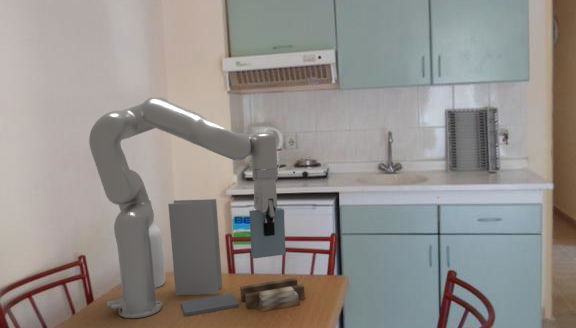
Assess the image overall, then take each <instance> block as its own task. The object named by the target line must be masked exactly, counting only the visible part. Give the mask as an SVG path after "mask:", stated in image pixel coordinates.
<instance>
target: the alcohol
mask: <svg viewBox="0 0 576 328" xmlns="http://www.w3.org/2000/svg"><path fill="white" fill-rule="evenodd" d="M149 200H150V203H151V206H152V203H153V202H152V198H150V197H149ZM152 207H153V206H152ZM149 237H150V243H151V250H152V260H153V271H154V283H155V289H157V288H160V287H162V286H164V285H165V282H166V269H165V258H164V246H163V235H162V231H161V229H160V227H158V225H157V224H156V223H155V218H154V219H153V223H152V225H151V226H150V228H149Z"/></svg>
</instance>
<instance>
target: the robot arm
mask: <svg viewBox="0 0 576 328" xmlns="http://www.w3.org/2000/svg"><path fill="white" fill-rule="evenodd" d="M154 129H158V130H160V131H163V132H166V133H168V134H170V135H172V136H175V137H177V138H180V139H182V140H184V141H187V142H189V143H191V144H192V145H195V146H199V147H201V148H204V149H206V150H208V151H210V152H212V153H214V154H217V155H220V156H221V157H224V158H227V159H230V160H233V161H243V160H245V159H246V158H247V157H250V156H251V170H252V172H251V173H252V180H253V181H254V182H253V206H254V207H253V208H254V209H255V210H257V211H259V212H260V213H262V214H263V213H264V222H265V223H263V225H264V236H271V235H274V234H275V231H274V217H275V214H274V212H276V211H277V208H278V196H277V195H278V194H277V184H276V180H278V174H279V173H278V155H277V154H278V152H277V137H276V134H275V133H273V132H258V133H257V132H256V133H244V132H235V131H232V130H230V129H227V128H225V127H222V126H221V125H218V124H216V123H214V122H212V121H210V120H209V119H207V118H206V117H204V116H203V115H202V114H199V113H197V112H194V111H192V110H190V109H187V108H185V107H182V106H179V105H178V104H175V103H173V102H170V101H168V100H167V99H166V98H163V97H157V96H154V97H149V98H147V99H146V100H145V101H144V102H143V103H140V104H138V105H135V106H134V105H133V106H131V107H129V108H126V109H125V108H124V109H123V110H112V111H109V112H107V113H105V114H103V115H102V116H101V117H99V118H98V119H97V121H95V123H94V124H93V126H92V127H91V129H90V131H89V132H90V133H89V140H88V142H89V147H90V151H91V155H92V158H93V161H94V164H95V166H96V171H97V173H98V175H99V179H100V182H101V185H102V187H103V190H104V191H103V192H104V194H105V196H106V198H107V199H108V201H109V202H111V203H112V204H114V205H118V207H119V211H120V212H119V213H118V214H117V216H116V218H115V220H114V226H113V232H114V238H115V241H116V246H117V256H118V263H119V273H120V283H121V285H120V287H121V295H120V296H121V297H119V298H117V300H116V299H115V300H109V301H107V302H106V305H107V306H106V307H107V309H109V308H111V310H116V309H118V315H119V316H121V318H126V319H137V318H138V319H139V318H145V317H149V316H152V315H154V314H156V313H158V312H159V311H160V310H161V309H162V308H163V306H162V304H163V303H162V301H160V300H158V299H157V296H156V288H155V283H154V271H153V260H152V250H151V243H150V237H149V228H150V226H151V225H152V223H153V219H154V220H155V215H154V214H155V212H154V210H153V206H151V205H152V204H151V203H150V200H149V198H150V197H149V195H148V192H147V190H146V187H145V186H146V185H145V184H144V181H143V179H142V177H141V175H140V174H139V173H138V172H136V171H135V170H133V169H130V165H129V163H128V161H127V158H126V155H125V153H124V151H123V148H122V146H121V144H122V143H121V142H122V141H123V140H125V139H129V138H132V137H135V136H138V135H141V134H143V133H145V132H149V131H152V130H154ZM268 210H269V212H266V211H268Z"/></svg>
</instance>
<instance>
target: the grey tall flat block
mask: <svg viewBox="0 0 576 328" xmlns="http://www.w3.org/2000/svg"><path fill="white" fill-rule="evenodd" d="M217 204H218V203H217V198H212V199H209V198H207V199H184V200H183V199H180V200H179V199H177V200H173V202H171V203H168V214H169V215H168V216H169V228H170V240H171V252H172V262H173V265H172V266H173V279H174V290H175V295H176V296H182V295H183V296H186V295H187V296H189V295H192V296H193V295H195V296H197V295H198V296H199V295H203V296H204V295H219V293H220V292H219V290H221V289H223V279H222V263H221V248H220V236H219V234H220V233H219V222H218V207H217Z"/></svg>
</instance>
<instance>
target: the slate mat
mask: <svg viewBox="0 0 576 328" xmlns="http://www.w3.org/2000/svg"><path fill="white" fill-rule="evenodd" d="M180 306H181V309H182V311H183V315H184V317H188V316H194V315H195V316H196V315H200V314H205V313H212V312H219V311H222V310H223V311H224V310H228V309H233V308H239V307H240V305H239V302H238V300H237V299H236V298H235V296H234V294H233V293H229V294H221V295H215V296H212V297H205V298H204V297H203V298H199V299H198V298H197V299H192V300H186V301H185V300H184V301H180Z"/></svg>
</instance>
